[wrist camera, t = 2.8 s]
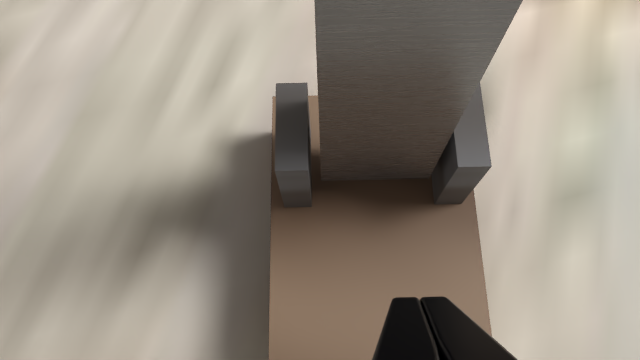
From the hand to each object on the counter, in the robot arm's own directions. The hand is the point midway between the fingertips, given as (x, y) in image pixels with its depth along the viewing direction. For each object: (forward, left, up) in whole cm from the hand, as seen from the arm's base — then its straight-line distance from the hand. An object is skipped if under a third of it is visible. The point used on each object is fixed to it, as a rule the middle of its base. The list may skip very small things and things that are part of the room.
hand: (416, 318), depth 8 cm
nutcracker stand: (+3, -1, -9) cm, 9 cm away
